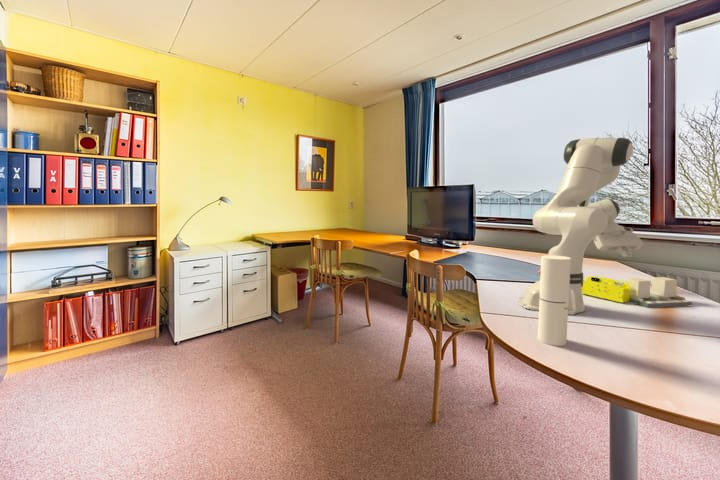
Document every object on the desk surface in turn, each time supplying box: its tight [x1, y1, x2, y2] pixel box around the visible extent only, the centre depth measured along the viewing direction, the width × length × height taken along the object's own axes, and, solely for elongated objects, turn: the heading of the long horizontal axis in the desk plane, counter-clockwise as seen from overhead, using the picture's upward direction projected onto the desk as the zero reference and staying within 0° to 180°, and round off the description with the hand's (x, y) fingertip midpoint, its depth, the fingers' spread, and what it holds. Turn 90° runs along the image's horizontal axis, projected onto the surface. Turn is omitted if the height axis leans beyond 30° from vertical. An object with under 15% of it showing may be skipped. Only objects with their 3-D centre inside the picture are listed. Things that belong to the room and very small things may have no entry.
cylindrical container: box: [537, 254, 571, 347], centre depth 88 cm, size 7×7×25 cm
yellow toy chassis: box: [582, 275, 630, 303], centre depth 127 cm, size 16×6×8 cm, turn 25°
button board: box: [627, 292, 693, 309], centre depth 121 cm, size 18×13×2 cm
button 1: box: [626, 277, 652, 298], centre depth 122 cm, size 5×6×7 cm
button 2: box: [650, 276, 678, 297], centre depth 123 cm, size 5×6×7 cm
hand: (628, 256), depth 137 cm, fingers closed
